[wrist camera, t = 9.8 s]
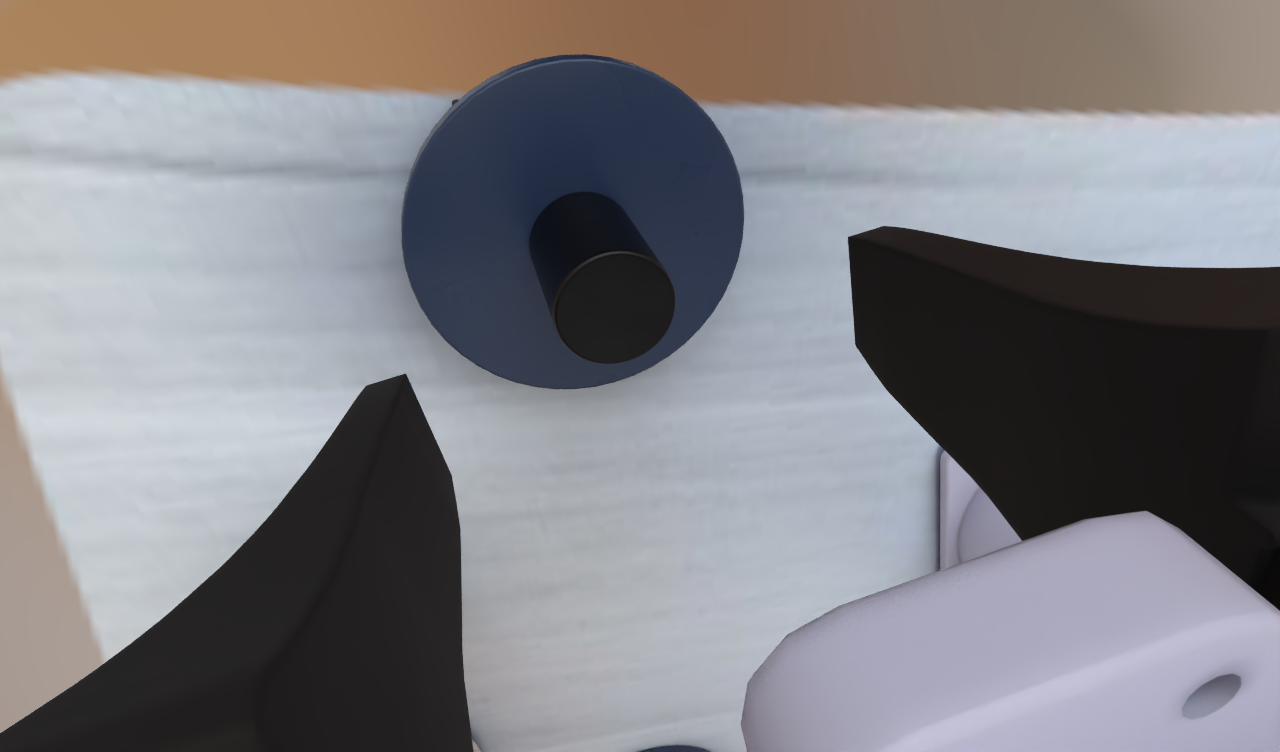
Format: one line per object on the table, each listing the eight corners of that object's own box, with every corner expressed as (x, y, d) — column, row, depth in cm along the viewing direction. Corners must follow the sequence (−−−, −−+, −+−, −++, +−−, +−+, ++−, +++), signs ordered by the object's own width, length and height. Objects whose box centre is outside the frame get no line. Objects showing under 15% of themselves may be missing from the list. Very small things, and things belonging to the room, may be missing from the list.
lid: (748, 56, 17) (845, 101, 13) (708, 358, 20) (774, 460, 16) (387, 40, 15) (380, 87, 11) (413, 375, 18) (415, 494, 15)
